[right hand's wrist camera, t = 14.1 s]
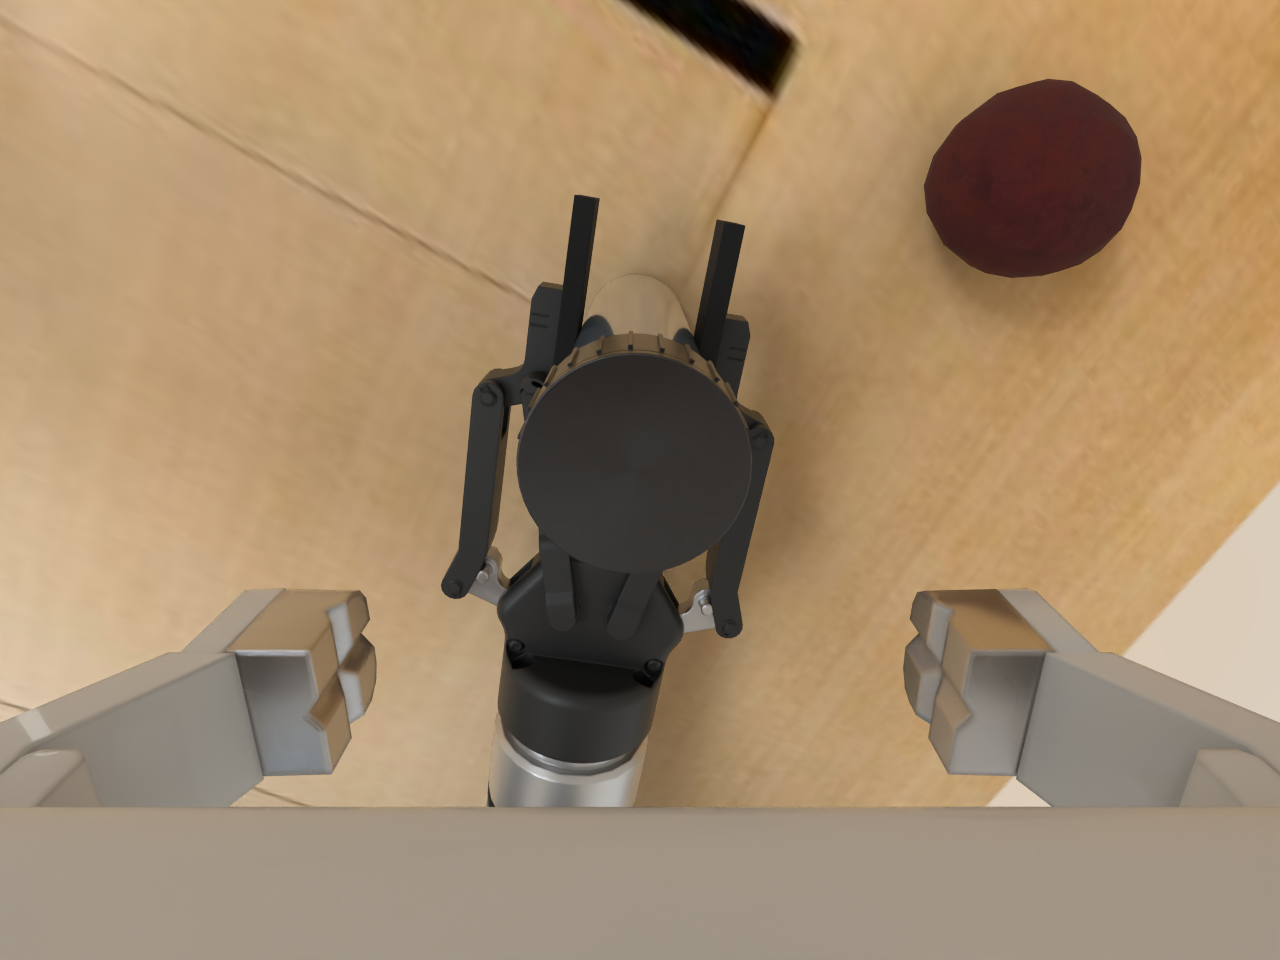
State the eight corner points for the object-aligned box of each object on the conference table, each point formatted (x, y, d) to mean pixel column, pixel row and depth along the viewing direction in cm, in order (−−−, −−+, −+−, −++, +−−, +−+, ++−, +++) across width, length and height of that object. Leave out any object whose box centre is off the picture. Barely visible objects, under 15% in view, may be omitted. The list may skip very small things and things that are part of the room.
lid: (751, 516, 19) (766, 559, 17) (552, 546, 20) (540, 591, 17) (727, 313, 17) (740, 331, 15) (507, 349, 18) (488, 372, 15)
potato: (1057, 267, 34) (1158, 285, 27) (892, 269, 34) (953, 287, 27) (1092, 91, 31) (1213, 63, 25) (912, 93, 31) (985, 65, 25)
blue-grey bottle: (689, 362, 36) (744, 538, 17) (597, 377, 36) (555, 565, 18) (676, 266, 34) (721, 348, 16) (580, 282, 34) (514, 382, 16)
